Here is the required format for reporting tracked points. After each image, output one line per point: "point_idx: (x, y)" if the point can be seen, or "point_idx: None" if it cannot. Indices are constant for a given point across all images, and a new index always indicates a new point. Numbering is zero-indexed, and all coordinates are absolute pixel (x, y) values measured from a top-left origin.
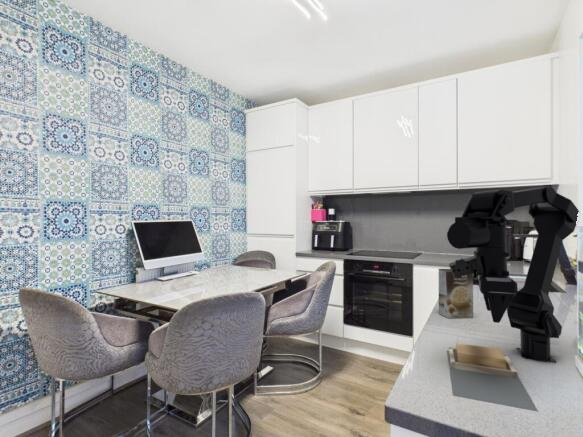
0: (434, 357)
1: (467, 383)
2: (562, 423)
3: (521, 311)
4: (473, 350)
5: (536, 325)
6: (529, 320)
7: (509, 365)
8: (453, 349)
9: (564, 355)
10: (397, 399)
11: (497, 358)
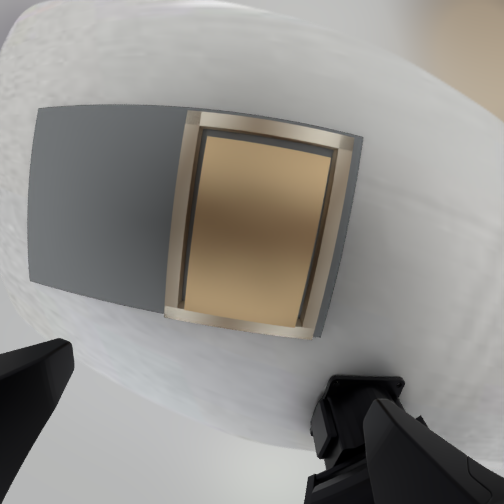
0: (300, 79)
1: (95, 149)
2: (25, 306)
3: (371, 502)
4: (253, 212)
5: (313, 491)
6: (332, 492)
7: (217, 316)
8: (337, 152)
9: None
10: (37, 10)
11: (187, 284)
